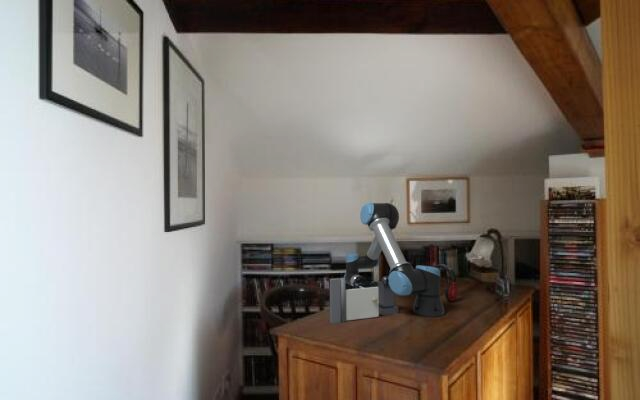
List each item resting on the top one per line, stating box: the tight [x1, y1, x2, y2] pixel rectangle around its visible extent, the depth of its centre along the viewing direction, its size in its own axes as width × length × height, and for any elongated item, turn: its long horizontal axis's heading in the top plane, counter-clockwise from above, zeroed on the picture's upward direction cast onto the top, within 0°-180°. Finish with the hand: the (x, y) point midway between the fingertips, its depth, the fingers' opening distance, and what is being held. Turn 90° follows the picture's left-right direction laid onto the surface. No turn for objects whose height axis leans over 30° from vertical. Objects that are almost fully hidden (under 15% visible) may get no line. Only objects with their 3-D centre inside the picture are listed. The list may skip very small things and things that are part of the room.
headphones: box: [432, 263, 459, 302], centre depth 211 cm, size 18×10×20 cm, turn 38°
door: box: [345, 286, 380, 321], centre depth 174 cm, size 17×3×14 cm, turn 110°
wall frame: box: [329, 277, 347, 325], centre depth 170 cm, size 7×3×20 cm, turn 110°
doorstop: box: [377, 275, 399, 316], centre depth 187 cm, size 9×9×18 cm
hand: (376, 290), depth 195 cm, fingers open, 13 cm apart
